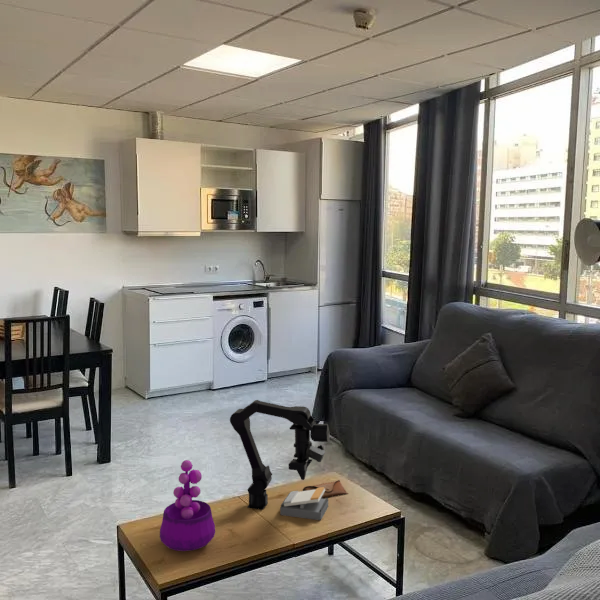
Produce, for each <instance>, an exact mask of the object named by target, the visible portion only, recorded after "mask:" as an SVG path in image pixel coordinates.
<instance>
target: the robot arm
mask: <svg viewBox="0 0 600 600" xmlns="http://www.w3.org/2000/svg"><path fill="white" fill-rule="evenodd" d="M256 413H258V414H259V413H260V414H263V415H267V416H271V417H272V416H273V417H277V418H283V419H284V420H288V421H289V422H290V423H292V424H291V425H290V427H289V430H293V431H294V443H293V448H295V449H294V454H293V459H292V460H291V461H290V462H289V463H288V470H291V471H296V472H297V474H298V476H299V477H300V480H301V481H305V478H306V475H307V470H308V467H309V465H310V464H311V463H312V462H313V460H314V461H316V462H318V463H321V462H322V460H323V459H324V456H325V454H326V450H325V448H324V446H325V445H322V444H319V445H318V446H316V445H315V446H314V445H313V443H312V441H313V442H317V443H318V442H319V443H329V442H330V436H331V435H330V427H329V424H328V423H317V422H316V419H314V417H313V415H312V413H311V411H310V409H309V408H308V407H307V406H301V405H296V406H285V405H280V404H275V403H271V402H266V401H261V400H259V399H256V400H255V399H254V400H253V401H252V402H251V403H250V404H248V405H246V406H245V407H243V408H238V409H237V410H236V411H234V412H233V413H232V414H231V415H230V417H229V423H230V425H231V426H232V428H233V430H234V431H235V432H236V433H237V434H238V436H239V437H240V440H241V441H240V442H242V445H243V449H244V451H245V454H246V457H247V460H248V462H249V465H250V467H251V480H252V483H251V484H250V485H249V487H248V488H247V492H248V504H247V509H253V510H260V511H262V510H264V509H265V508H266V506H268V504H269V501H268V499H269V498H268V495H269V494H268V493H267V488H268V486H269V485H270V483H271V482H272V477H273V473H272V472H271V469H270V465H267V466H266V465H265V464H264V463H263V461H262V458H261V456H260V453H259V450H258V447H257V445H256V442H255V440H254V436H253V434H252V431H251V420H250V417H252V416H253V415H255V414H256ZM311 440H312V441H311Z"/></svg>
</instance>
